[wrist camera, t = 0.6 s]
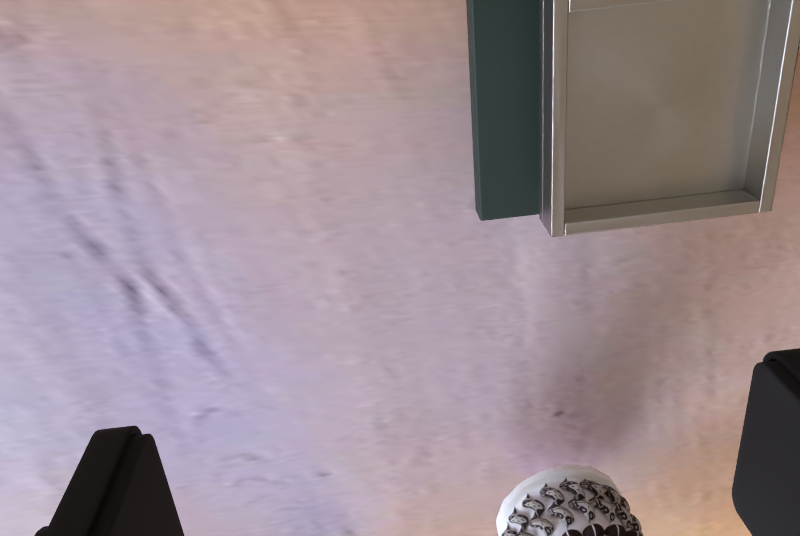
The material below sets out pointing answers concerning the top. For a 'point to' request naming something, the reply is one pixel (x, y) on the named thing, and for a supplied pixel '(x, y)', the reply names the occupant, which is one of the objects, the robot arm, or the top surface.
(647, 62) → the pan
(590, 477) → the decorative candle
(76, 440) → the top surface
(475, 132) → the scale
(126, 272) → the top surface
